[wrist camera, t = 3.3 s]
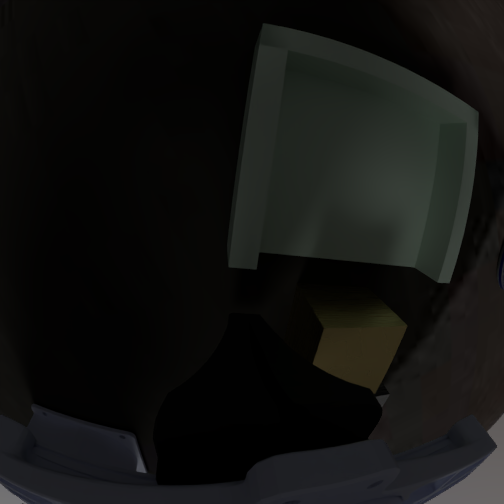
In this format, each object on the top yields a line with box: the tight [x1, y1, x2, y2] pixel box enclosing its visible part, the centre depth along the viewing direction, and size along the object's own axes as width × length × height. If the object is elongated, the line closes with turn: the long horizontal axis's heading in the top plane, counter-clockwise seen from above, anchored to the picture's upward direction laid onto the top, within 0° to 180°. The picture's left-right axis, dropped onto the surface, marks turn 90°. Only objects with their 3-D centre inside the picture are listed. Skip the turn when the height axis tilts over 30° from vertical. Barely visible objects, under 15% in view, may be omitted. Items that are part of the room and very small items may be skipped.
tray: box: [227, 23, 478, 283], centre depth 10 cm, size 11×9×2 cm
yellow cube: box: [284, 283, 407, 394], centre depth 12 cm, size 4×4×4 cm
